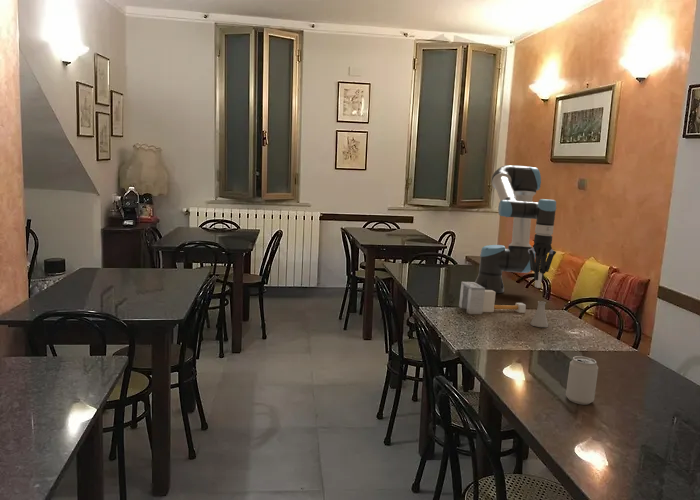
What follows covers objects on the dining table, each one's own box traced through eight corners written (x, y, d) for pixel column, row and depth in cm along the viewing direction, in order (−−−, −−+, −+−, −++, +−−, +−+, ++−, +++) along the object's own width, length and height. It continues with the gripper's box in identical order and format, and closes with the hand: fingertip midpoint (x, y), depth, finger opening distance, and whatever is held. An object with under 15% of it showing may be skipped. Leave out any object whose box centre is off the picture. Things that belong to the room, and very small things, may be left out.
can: (560, 394, 172) (565, 354, 170) (585, 395, 172) (591, 355, 170) (572, 405, 164) (578, 363, 162) (598, 406, 165) (604, 364, 163)
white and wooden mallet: (520, 310, 270) (523, 290, 269) (525, 312, 267) (527, 292, 265) (477, 309, 266) (479, 289, 265) (480, 311, 262) (482, 291, 261)
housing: (471, 307, 270) (474, 282, 268) (482, 314, 258) (485, 288, 257) (458, 306, 269) (461, 281, 267) (469, 313, 257) (471, 287, 255)
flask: (549, 328, 242) (552, 304, 241) (530, 326, 244) (533, 302, 242) (547, 324, 249) (550, 300, 248) (529, 322, 251) (531, 298, 249)
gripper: (534, 234, 259) (528, 288, 263) (561, 236, 262) (555, 289, 265) (525, 232, 267) (520, 284, 270) (552, 234, 269) (546, 285, 272)
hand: (537, 287), depth 268 cm, fingers closed
